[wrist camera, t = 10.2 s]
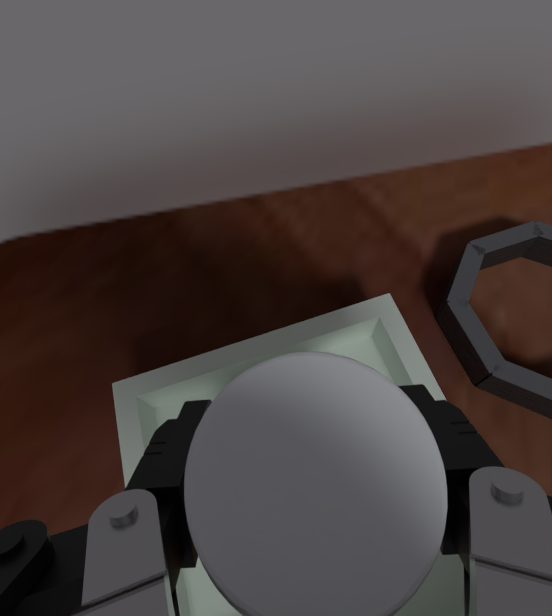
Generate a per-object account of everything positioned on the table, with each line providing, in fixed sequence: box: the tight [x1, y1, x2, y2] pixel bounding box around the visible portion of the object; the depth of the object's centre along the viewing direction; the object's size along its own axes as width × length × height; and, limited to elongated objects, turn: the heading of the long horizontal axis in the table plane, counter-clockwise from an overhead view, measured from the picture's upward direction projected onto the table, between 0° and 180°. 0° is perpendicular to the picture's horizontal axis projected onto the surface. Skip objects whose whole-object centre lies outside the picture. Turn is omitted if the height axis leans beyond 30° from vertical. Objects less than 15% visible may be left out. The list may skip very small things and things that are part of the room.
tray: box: [112, 293, 464, 616], centre depth 17 cm, size 14×14×3 cm
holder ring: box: [436, 221, 552, 419], centre depth 21 cm, size 10×10×2 cm
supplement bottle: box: [184, 351, 448, 616], centre depth 10 cm, size 5×5×10 cm
